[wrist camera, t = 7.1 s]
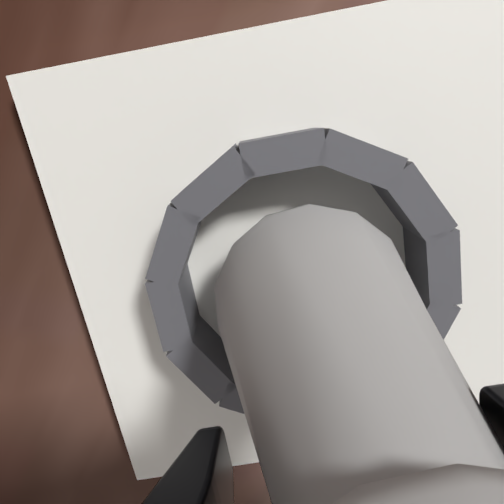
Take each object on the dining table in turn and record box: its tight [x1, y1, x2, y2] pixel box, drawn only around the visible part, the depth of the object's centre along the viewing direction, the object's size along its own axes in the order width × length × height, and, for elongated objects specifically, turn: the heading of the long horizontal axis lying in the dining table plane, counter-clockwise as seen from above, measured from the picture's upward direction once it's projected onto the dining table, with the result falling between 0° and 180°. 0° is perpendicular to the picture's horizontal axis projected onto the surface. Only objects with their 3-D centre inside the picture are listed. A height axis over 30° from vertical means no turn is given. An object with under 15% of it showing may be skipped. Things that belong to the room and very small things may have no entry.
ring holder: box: [6, 0, 504, 480], centre depth 14 cm, size 16×16×3 cm
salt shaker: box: [214, 204, 504, 504], centre depth 8 cm, size 6×6×13 cm
